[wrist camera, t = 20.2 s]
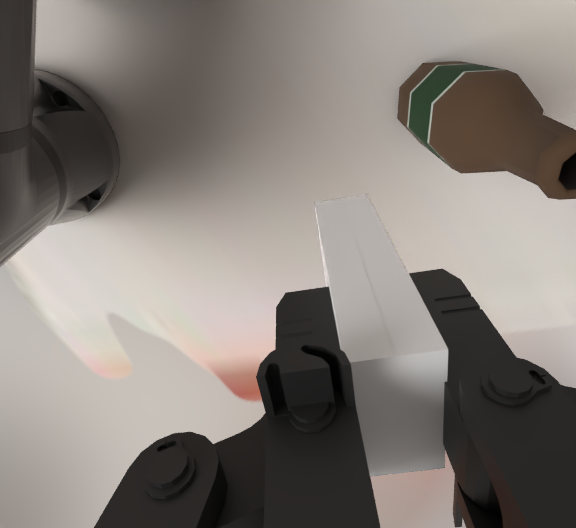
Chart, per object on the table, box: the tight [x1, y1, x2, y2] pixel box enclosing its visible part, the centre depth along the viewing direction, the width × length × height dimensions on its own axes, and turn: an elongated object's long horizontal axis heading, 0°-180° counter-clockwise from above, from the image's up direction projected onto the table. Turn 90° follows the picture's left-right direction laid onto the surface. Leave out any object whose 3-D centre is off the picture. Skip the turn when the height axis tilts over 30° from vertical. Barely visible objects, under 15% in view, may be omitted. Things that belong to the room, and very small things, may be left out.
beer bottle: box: [398, 62, 576, 199], centre depth 32 cm, size 8×8×24 cm
